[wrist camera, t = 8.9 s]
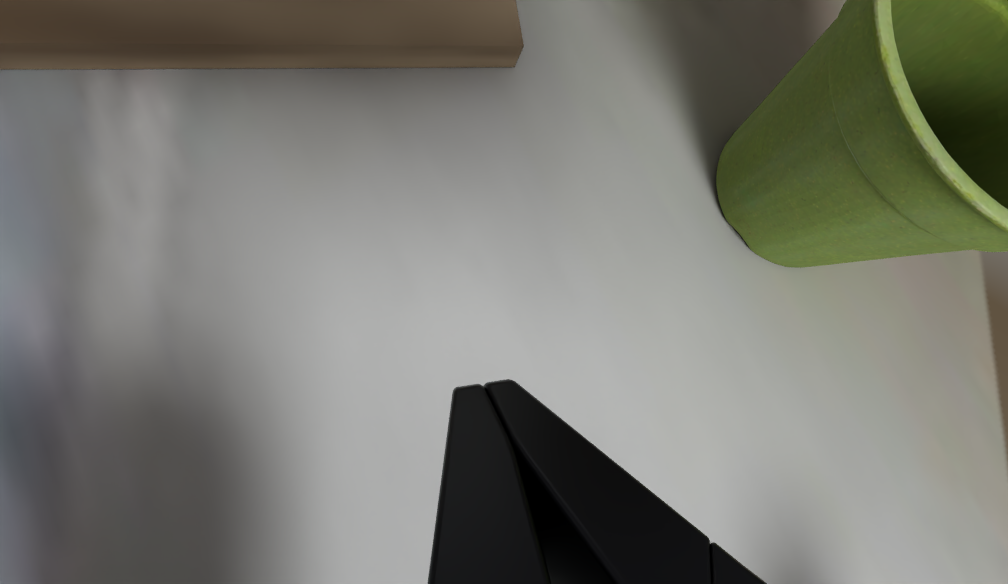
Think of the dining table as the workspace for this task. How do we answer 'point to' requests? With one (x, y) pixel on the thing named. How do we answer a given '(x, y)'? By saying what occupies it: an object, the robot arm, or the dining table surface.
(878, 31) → the plant pot
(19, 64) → the switch board
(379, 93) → the dining table surface
